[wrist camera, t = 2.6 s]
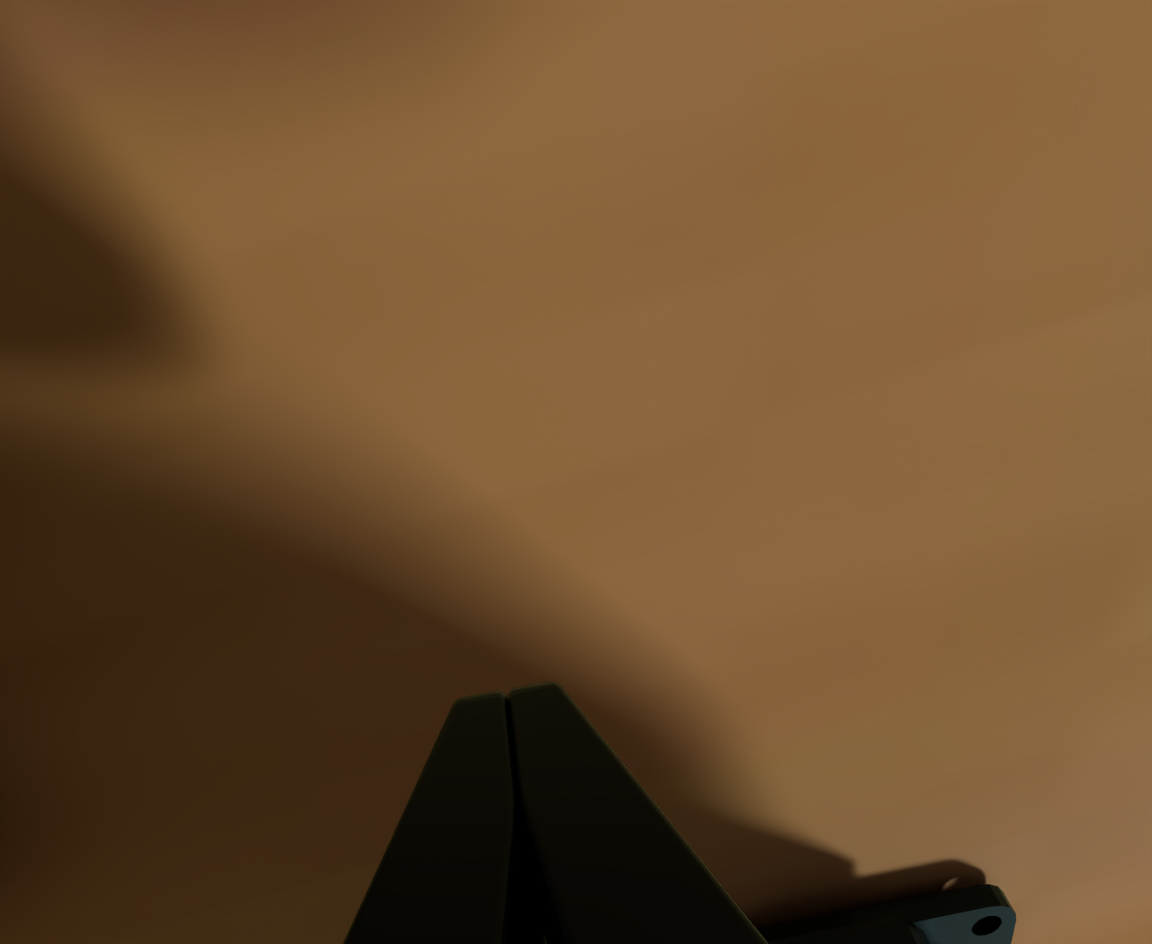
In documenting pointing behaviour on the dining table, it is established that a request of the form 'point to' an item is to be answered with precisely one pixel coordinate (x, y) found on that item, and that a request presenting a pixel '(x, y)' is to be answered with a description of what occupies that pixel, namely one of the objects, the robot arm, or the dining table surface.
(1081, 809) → the dining table surface
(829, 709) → the dining table surface
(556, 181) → the dining table surface
